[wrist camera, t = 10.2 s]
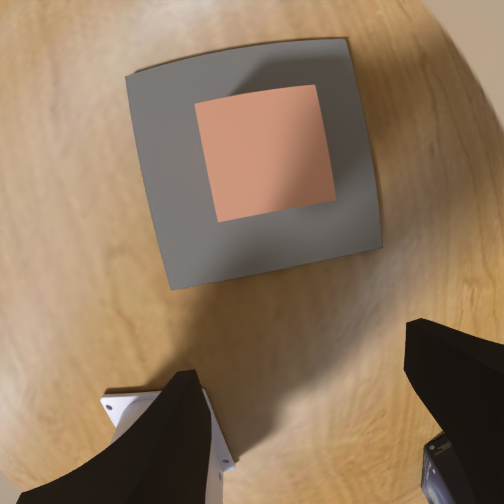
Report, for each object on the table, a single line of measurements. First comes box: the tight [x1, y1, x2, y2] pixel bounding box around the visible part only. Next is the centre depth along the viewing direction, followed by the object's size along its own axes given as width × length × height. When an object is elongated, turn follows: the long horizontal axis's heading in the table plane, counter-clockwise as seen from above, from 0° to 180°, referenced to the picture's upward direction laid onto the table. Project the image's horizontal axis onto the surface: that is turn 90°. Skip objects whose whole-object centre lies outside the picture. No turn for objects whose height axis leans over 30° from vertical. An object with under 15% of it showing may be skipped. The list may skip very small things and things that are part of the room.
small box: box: [421, 435, 476, 504], centre depth 19 cm, size 11×6×10 cm, turn 21°
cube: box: [194, 85, 336, 222], centre depth 13 cm, size 4×4×4 cm
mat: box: [125, 39, 383, 291], centre depth 16 cm, size 12×12×1 cm
